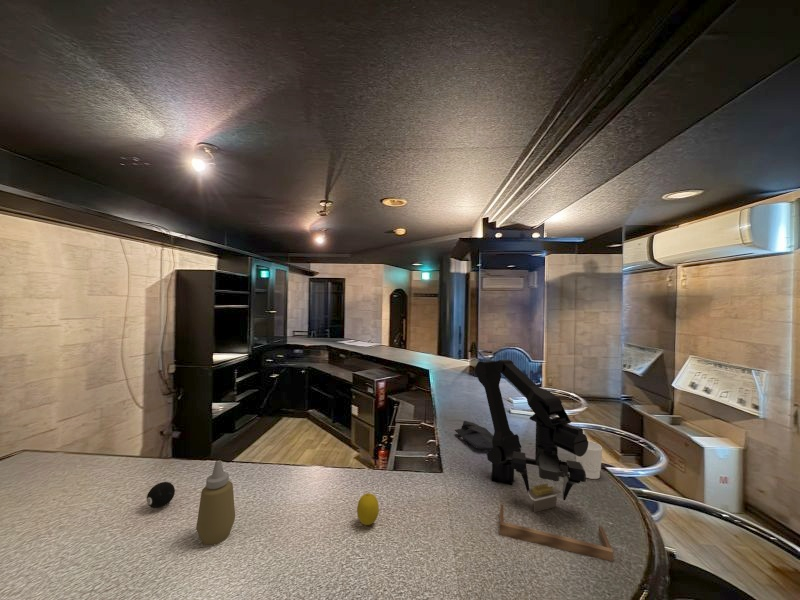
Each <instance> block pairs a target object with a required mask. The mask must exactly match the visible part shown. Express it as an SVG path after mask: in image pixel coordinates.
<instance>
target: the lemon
mask: <svg viewBox="0 0 800 600" xmlns="http://www.w3.org/2000/svg"><path fill="white" fill-rule="evenodd" d="M379 506H380V505H379V500H378V499H377V497H376V496H375V495H374V494H373V493H370V492H367V493H364V494H363V495H362V496H361V497H360V498H359V499H358V503H357V507H356V513H357V518H358V521H359V522H360V523H361V524H362V525H365V526H369V525H372V524H373V523H375V522H376V520H377V518H378V515H379V510H380V509H379V508H380V507H379Z"/></svg>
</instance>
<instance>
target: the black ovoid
mask: <svg viewBox="0 0 800 600" xmlns="http://www.w3.org/2000/svg"><path fill="white" fill-rule="evenodd" d="M175 493H176V488H175V486H174V485H173V483H171V482H169V481H162V482H159V483H156V484H155V485H154V486H152V488H150V490H148V493H147V495H146V503H147V504H148V506H149V507H150V508H152V509H161V508H163V507H166V506H167V505H169V504H170V503H171V502H172V500H173V499H174V496H175Z"/></svg>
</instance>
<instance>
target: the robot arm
mask: <svg viewBox="0 0 800 600" xmlns="http://www.w3.org/2000/svg"><path fill="white" fill-rule="evenodd" d="M474 371H475V375H476V377H477V380H478V381H479V383H480V384H481V385H482V386H483V387H484V391H485V395H486V399H487V400H486V401H487V404H488V409H489V412H490V413H489V414H490V417H491V420H492V426H493V431H494V432H493V439H492V444H493V449H489V451H487V452H486V459H487V460H488V462H490V463H491V478H490V479H491V482H493V483H498V484H504V485H507V486H513V482H514V481H515V471H516V472H517V473H520V475H521V477H522V479H523V482H524V483H523V484H524V486H525V489H526V493H527V494H528V490H530V486H529V477H528V467H534V468H535V467H536V468H538V475H539V476H538V477H539V478H540V479H543V480H550V481H553V482H559V481H560V478H563V481H562V482H563V483H562V500H563V501H566V499H567V497H568V495H569V493H570V490H571V489H572V487H573V485H575V484H580V483H585V482H587V481H586V480H587V478H586V473H585V470H584V468H583V466H582V464H581V463H580V462H576V460H575V461H574V460H569V459H568V460H567V459H566V460H565V461H563V460H561V459H559V455H558V453H559V448H560V449H562V450H564V451H566V452H568V453H570V454H573V455H574V456H576V455H577V456H579V457H581V456H583V455H584V454H585V453H586V451H587V448H588V441H589V440H588V438H587V436H586V434H584V429H583V428H582V427H579V426H574V425H572V424H571V423H572V421H571V419H570V418H569V416H568V414H567V411H566V410H565V408H564V406H563V405H562V403H563V402H562V400H561V399H560V397H558V395H556V394H554V393H552V392H550V391H549V390H547V389H545V388H542V387H540V386H538V385H537V384H536V383H535V382H534V381H533V380H532V379H530V377H528V376H527V375H526V374H525V373H524V372H523V371H522V370H521V369H519V368H518V367H517V366H516V365H515V364H514V362H513V360H510V359H499V360H482V361H481V360H480V361H478V362H477V363H476V365H475V366H474ZM502 375H503V376H504V377H505V378H506V379H507V380H508V381H509V382H510V383H511V384H512V385H513V386H514V387H515V388H516V389H517V390H518V391H519V392H520V393H521V394H522V395H523V396H524V397H525V399H526V401H527V405H528V407H529V408H530V409H531V412H533V414H532V415H531V416H529V420H530V421H532V422H534V423H535V449H534V450H535V451H534V453H535V454H534V455H535V456H534V457H535V458H530V457H527V455H526V452H522V445H521V443H520V437H519V435H518V434H515V433H514V432H513V431H512V430H511V429H510V425H509V421H508V417H507V412H506V409H505V404H504V400H503V396H502V391H501V387H500V383H501V379H502ZM551 417H552V418H551ZM553 417H555V418H553ZM587 440H588V441H587Z"/></svg>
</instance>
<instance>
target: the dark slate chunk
mask: <svg viewBox="0 0 800 600" xmlns="http://www.w3.org/2000/svg"><path fill="white" fill-rule="evenodd" d="M454 431H455V432H456V433H457V434H458V435H459V436H460V437H461V439H464V440H465V441H466V442H468V444H470V445H471V446H472V447H473V448H475V449H477V450H491V449H493V444H492V439H493V436H494V434H492V433H491V432H490V430H488V429H487V428H486V427H483V426H480V425H479V424H476V423H475V422H471V421H467V420H463V422H462V425H461V428H458V429H454Z"/></svg>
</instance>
